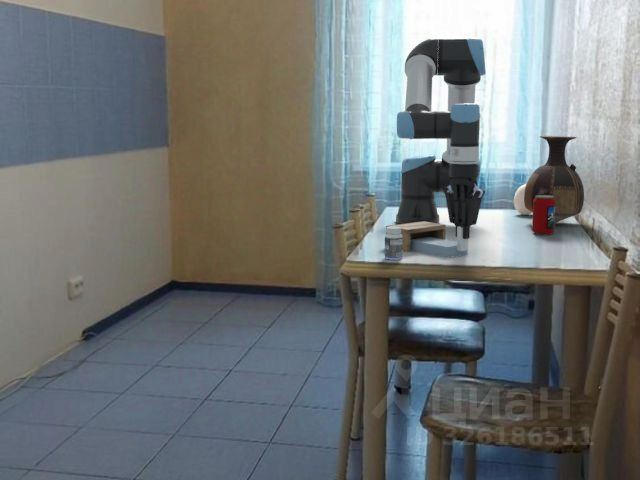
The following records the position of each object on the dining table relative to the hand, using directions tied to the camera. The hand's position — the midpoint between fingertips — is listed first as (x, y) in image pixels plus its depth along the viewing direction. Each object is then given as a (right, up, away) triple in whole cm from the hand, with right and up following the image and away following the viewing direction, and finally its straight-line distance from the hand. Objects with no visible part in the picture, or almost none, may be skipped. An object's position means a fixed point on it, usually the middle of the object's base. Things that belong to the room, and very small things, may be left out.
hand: (462, 250), depth 205 cm
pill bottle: (-19, -2, -3) cm, 19 cm away
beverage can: (+32, +5, +35) cm, 48 cm away
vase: (+41, +8, +54) cm, 69 cm away
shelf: (-11, +1, +14) cm, 18 cm away
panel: (-6, -1, +6) cm, 8 cm away
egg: (+38, +12, +78) cm, 87 cm away
